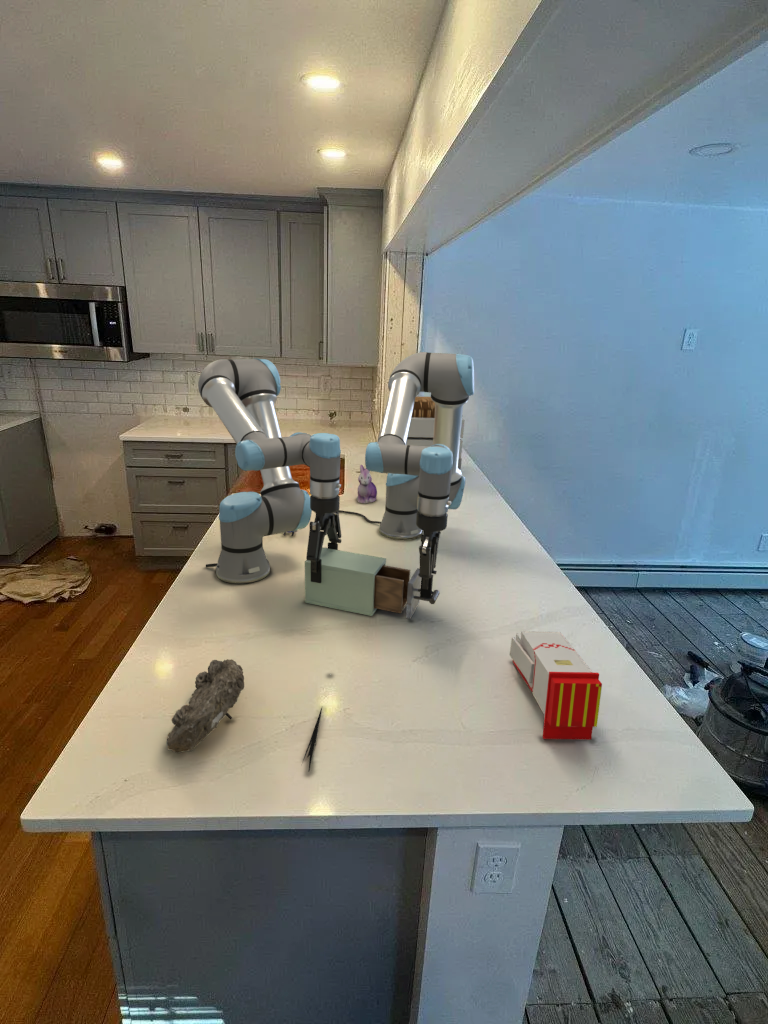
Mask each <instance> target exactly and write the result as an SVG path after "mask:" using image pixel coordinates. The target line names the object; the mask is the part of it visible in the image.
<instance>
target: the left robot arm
mask: <svg viewBox="0 0 768 1024" xmlns="http://www.w3.org/2000/svg"><path fill="white" fill-rule="evenodd" d="M279 373H280V372H279V371H278V368H277V367H276V365H275V364H274V363H273V362H272V361H270V360H269V359H265V358H257V357H256V358H237V359H236V358H233V359H232V358H231V359H229V358H221V359H216V360H214V361H212V362H210V363H208V364H207V365H206V366H205V367H204V368H203V370H202V371H201V373H200V374H199V378H198V383H197V387H198V393H199V395H200V397H201V399H202V400H203V402H204V403H205V404H206V406H207V407H210V408H212V409H213V411H214V412H215V414H216V415H217V417H218V418H219V420H220V421H221V423H222V424H223V427H225V429H226V430H227V432H228V434H229V435H230V437H231V438H232V440H233V441H234V442H235V444H236V445H235V449H234V453H235V454H234V456H235V460H236V463H237V466H238V467H239V469H241V470H242V471H245V472H247V471H254V472H255V471H256V472H257V471H260V474H261V475H260V476H261V479H262V484H263V487H262V488H261V490H260V493H259V492H256V491H240V492H236V493H232V494H229V495H228V496H225V497H224V498H223V499H221V501H220V503H219V506H218V507H219V509H218V510H219V512H218V520H219V534H220V547H221V548H220V552H219V556H218V559H217V562H216V563H215V562H214V563H206V564H205V568H213V567H216V569H215V575H216V577H217V578H218V579H219V580H220V581H223V582H225V583H228V584H229V583H230V584H235V585H236V584H238V585H239V584H240V585H241V584H243V585H244V584H251V583H255V582H259V581H261V580H263V579H265V578H266V577H267V576H268V575H269V574H270V572H271V569H270V568H271V566H270V562H269V560H268V558H267V555H266V553H265V549H264V545H263V544H264V541H263V539H264V537H269V536H274V535H278V534H284V532H286V533H288V532H290V531H291V533H292V532H294V531H296V530H297V531H298V530H303V529H305V528H306V527H308V526H309V527H308V528H309V531H308V532H309V534H308V540H307V549H306V557H305V561H306V560H310V561H311V582H316V583H321V570H322V559H320V556H321V551H322V547H323V546H324V541H325V536H327V539H328V541H329V542H327V548H329V549H335V550H339V544H341V543H342V530H341V528H342V527H341V521H340V512H339V510H340V502H341V501H340V500H341V499H340V498H341V497H340V496H339V494H340V489H341V488H342V484H341V483H340V481H341V479H340V477H341V452H342V450H341V439H340V437H339V435H337V434H334V433H330V432H320V433H313V434H310V433H306V432H300V431H298V432H294V433H291V435H289V436H282V431H281V428H280V425H279V421H278V417H277V413H276V408H275V404H276V402H277V401H278V396H279V395H280V393H281V390H282V389H281V388H282V385H281V383H282V382H281V376H280V374H279ZM301 465H304V466H307V467H309V492H307V490H304V489H301V487H300V484H299V482H298V481H296V480H295V479H293V477H292V472H291V469H290V467H292V466H301ZM312 512H314V513H315V516H314V521H311V518H312ZM297 531H296V532H297ZM294 533H295V532H294Z"/></svg>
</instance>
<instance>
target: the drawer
mask: <svg viewBox="0 0 768 1024" xmlns="http://www.w3.org/2000/svg"><path fill="white" fill-rule="evenodd" d="M419 573H420V567H419V568H416V569H415V571H414V573H413V574H412V576H411V569H407V568H401V567H397V566H390V565H386V566H385V565H383V566H382V567H381V569H380V570H379V571H378V573H377V574H376V575H375V587H374V608H376V609H377V610H382V611H387V612H391V613H397V614H402V613H403V611H404V609H405V608H406V609H405V611H406V613H405V614H406V615H405V618H406V619H409V620H411V619H412V617H413V615H414V614H415V611H416V610H417V608H418V606H419V604H420V601H425V602H429V604H430V605H435V604H436V602H437V600H438V597H439V596H440V594H441V592H440V590H438V589H435V590H432V596H431V598H424V597H420V588H421V577H419V576H418V574H419Z"/></svg>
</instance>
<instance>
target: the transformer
mask: <svg viewBox="0 0 768 1024" xmlns="http://www.w3.org/2000/svg"><path fill="white" fill-rule="evenodd" d="M434 418H435V403H434V402H433V401H432V399H431V396H419V395H417V396H416V397H415V402H414V407H413V412H412V417H411V422H410V427H409V433H408V438H407V443H406V445H412V446H427V447H430V446H432V445H433V436H434ZM464 429H465V419H464V418H462V423H461V435H460V446H459V458H458V468H459V469H460V471H461V472H462V461H463V460H462V453H463V442H464V441H463V440H462V439H463V438H464V431H465V430H464Z"/></svg>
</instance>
